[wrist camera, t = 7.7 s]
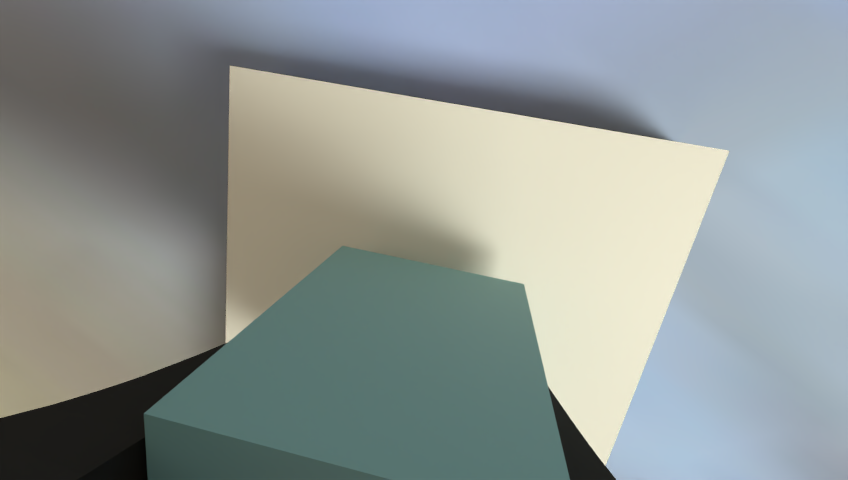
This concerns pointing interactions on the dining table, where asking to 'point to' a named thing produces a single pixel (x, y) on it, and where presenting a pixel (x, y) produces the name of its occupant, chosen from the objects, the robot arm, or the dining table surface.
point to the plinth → (470, 216)
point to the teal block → (368, 384)
